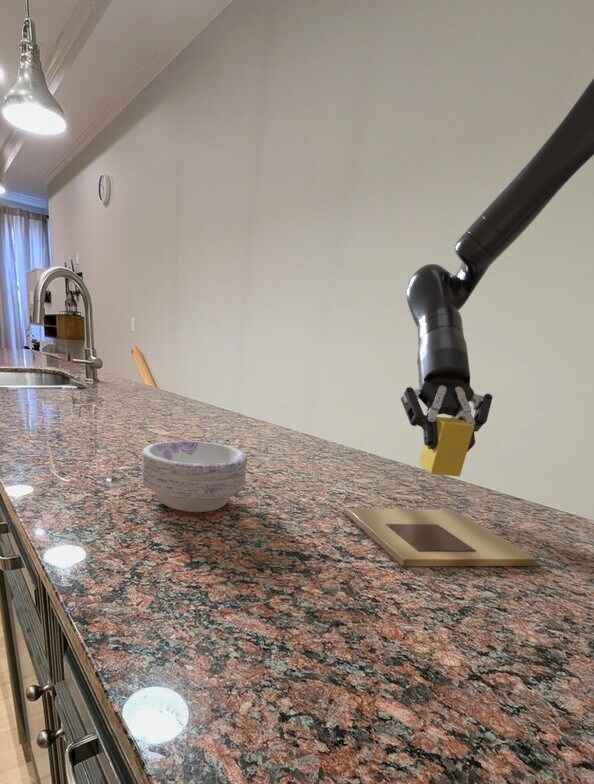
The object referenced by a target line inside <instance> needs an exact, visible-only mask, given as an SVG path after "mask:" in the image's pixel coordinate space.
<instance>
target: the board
mask: <svg viewBox="0 0 594 784" xmlns="http://www.w3.org/2000/svg"><path fill="white" fill-rule="evenodd" d="M345 514H346V516H347V517H348V518H350V520H351V521H353V522H354V523H355V524H356V525H357V526H358V527H359V528H360V529H361V530H362V531H364V533H365V534H367V535H368V536H369V538H371V539H372V540H373V541H374V542H375V543H376V544H377V545H378V546H379V547H381V548H382V549H383V550H384V551H385V552H386V553H387V554H388V555H389V556H391V558H393V559H394V560H395V561H396V562H397V563H398V564H399V565H400V566H401V567H534V566H535V565H536V563H537V560H538V559H537V558H536V557H534V556H532V555H531V554H529V552H528V553H527V552H526V551H525V550H523V549H521V548H520V547H518V546H516V545H514V544H512V543H511V542H509V541H507V540H506V539H505V538H503V537H501V536H499V535H497V534H496V533H494V532H492V531H491V530H489V529H488V528H485V527H484V526H482V525H481V524H478V523H477V522H475V521H474V520H472V519H470V518H469V517H467V516H465V515H464V514H462V513H460V512H458V511H457V510H455V509H416V508H415V509H413V508H409V509H408V508H355V507H354V508H353V507H352V508H351V507H347V508H346V513H345Z"/></svg>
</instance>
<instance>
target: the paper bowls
mask: <svg viewBox="0 0 594 784" xmlns="http://www.w3.org/2000/svg"><path fill="white" fill-rule="evenodd" d="M141 456H142V458H141V460H142V461H141V482H142V485H143V486H144V487H145V488H147V489H148V490H150V491H152V492H154V493H155V496H156V498H157V499H158V500H159V503H161V504H163V505H164V506H166V507H168V508H170V509H173V510H175V511H176V510H177V511H181V512H187V513H207V512H212V511H216V510H218V509H221V508H223V507H224V506H225V505H226V504H227V503H228V502H229V500H230V498H231V497H232V496H236V495H238V494H240V493H241V492H242V491H244V489H245V485H246V483H245V482H246V476H247V472H246V471H247V465H248V456H247V455H246V453H244V451H242V450H240V449H238V448H235V447H233V446H229V445H225V444H221V443H214V442H207V441H195V440H194V441H193V440H174V441H162V442H156V443H152V444H149V445H147V446H145V447H144V448H143V450H142V452H141Z"/></svg>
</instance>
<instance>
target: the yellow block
mask: <svg viewBox="0 0 594 784" xmlns="http://www.w3.org/2000/svg"><path fill="white" fill-rule="evenodd" d="M434 423H437V434H438V444H437V445H436V447H435V448H434V449H433V450H432V449H428V446H426V445H425V444H424V443H423V446H422V451H421V454H420V458H419V462H418V463H419V465H420V466H421V467H423V469H425V471H427V472H428V473H430V474H431V475H439V476H449V477H461V474H462V471H463V467H464V463H465V461H466V460H465V459H466V456H467V453H468V452H467V450H468V447H469V443H470V440H471V436H472V433H473V430H474V425H472V424H470V423H467V422H465V421H463V420H461V419H457V418H451V417H443V416H437V417H436V420H435V422H434Z"/></svg>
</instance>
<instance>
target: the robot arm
mask: <svg viewBox="0 0 594 784" xmlns="http://www.w3.org/2000/svg"><path fill="white" fill-rule="evenodd" d="M593 156H594V77H593V78H592V80H591V81H590V82H589V83H588V85H587V87H586V88H585V89H584V91H583V92H582V94H581V95H580V97H579V98H578V99H577V101H576V102H575V103H574V105H573V106H572V107H571V109H570V110H569V112H568V113H567V114H566V115H565V117H564V118H563V120H562V121H561V122H560V123H559V125H558V126H557V127H556V129H555V130H554V131H553V132H552V134H551V135H550V136H549V137H548V139H547V140H546V141H545V143H544V144H543V145H542V146H541V147H540V148H539V150H538V151H537V152H536V153H535V155H534V156H533V157H532V158H531V159H530V160H529V161H528V163H527V164H526V165H525V166H524V167H523V168H522V169H521V170H520V171H519V173H517V174H516V176H515V177H514V178H513V179H512V180H511V181H510V183H509V184H508V185H507V186H506V187H505V188H503V190H502V191H501V192H500V194H498V195H497V196H496V197H495V199H493V201H492V202H491V203H490V204H489V205H488V206H487V208H485V210H484V211H483V212H482V213H481V214H480V215H479V216H478V217H477V219H476V220H475V221H474V222H473V223H472V224H471V225H470V226H469V227H468V229H467V230H466V231H465V232H464V233H463V234H462V235H461V236H460V237H459V239H458V240H457V241H456V243H455V244H454V252H455V255H456V256H457V258H458V259H459V261H460V262H461V264H460V266H459V269H458V270H457V272H456V273H455V275H454V274H452V273H451V272H450V271H449V270H447V269H446V268H444V267H443V266H441V265H439V264H436V263H429V264H425V265H423V266H422V267H420V268H418V269H417V270H416V271H415V272H414V273H413V275H412V276H411V278H410V280H409V281H408V285H407V288H406V303H407V305H408V308H409V311H410V315H411V317H412V320H413V322H414V323H415V327H416V328H417V341H418V342H417V344H418V350H417V361H416V364H417V367H418V368H417V369H418V386H419V388H418V389H414V388H413V387H412V386H411V387H410V386H408V387H406V388H405V391H404V392H403V393H402V395H401V397H400V401H401V403H402V407H403V409H404V411H405V414H406V416H407V418H408V421H409V423H410V425H411V426H413V427H416V426H419V427H420V428H421V429H422V432H423V445H424V444H425V445H426V446H428V449H432V450H433V449H434V448H435V447H436V445H437V444H438V434H437V423H434V422H435V420H436V417H438V415H446V416H450V418H457V419H461V420H463V421H465V422H467V423H470V424H472V425H474V430H473V433H472V436H471V440H470V443H469V447H468V450H467V453H468V452H469V451H470V450H471V449H472V448H473V447H474V446H475V444H476V437H475V436H476V435H475V432H479V431H480V429H481V428H482V427H483V426H484V425H485V424H486V423H487V422H488V417H489V415H490V409H491V405H492V402H493V397H494V396H493V395H492V394H491V393H486V394H484V395H480V394H476V393H475V391H474V390H473V388H472V387H471V370H470V363H469V354H468V346H467V342H466V338H465V335H464V327H463V326H464V325H463V319H462V315H461V313H460V310H461V309H462V308H463V306H465V304H466V303H467V301H468V300H469V298H470V296H471V295H472V294H473V292H474V291H475V289H476V287H477V286H478V285H479V283H480V281H481V280H482V279H483V277H484V276H485V274H486V272H487V271H488V269H489V268H490V266H491V265H492V264H493V263H494V262H496V261H497V260H498V258H500V256H501V255H502V254H503V253H504V252H506V250H507V249H508V248H509V247H510V246H511V245H512V244H513V243H515V241H516V240H517V239H518V238H519V237H520V236H521V235H522V234H523V233H524V232H525V230H526V229H527V228H528V227H529V226H530V225H531V224H532V223H533V222H534V220H536V218H537V217H538V216H539V215H540V214H541V212H542V211H543V210H544V209H545V208H546V206H547V205H548V204H549V203H550V202H551V201H552V199H553V198H554V197H555V196H556V194H557V193H558V192H559V191H560V190H561V189H562V188H563V187H564V186H565V185H566V183H567V182H568V181H570V179H571V178H572V177H573V176H575V174H576V173H577V172H578V171H579V170H580V169H582V167H583V166H584V165H585V164H586V163H587V162H588V161H589V160H590V159H591V158H592V157H593ZM419 400H420V401H421V402H422V403H423V405H425V407H426V410H425V413H424V412H423V409H422V406H421V404H420V402H419ZM469 403H471V404H472V408H471V405H470V404H469ZM472 410H474V415H472Z"/></svg>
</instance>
